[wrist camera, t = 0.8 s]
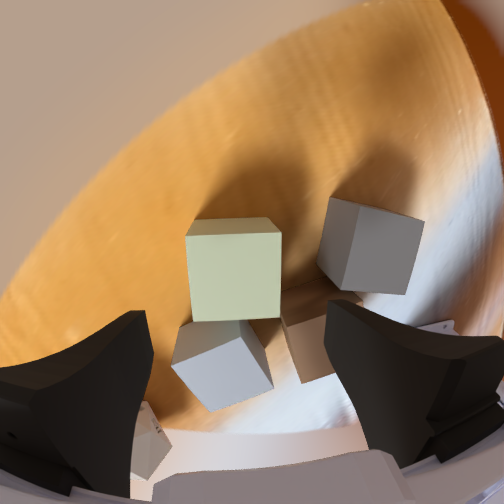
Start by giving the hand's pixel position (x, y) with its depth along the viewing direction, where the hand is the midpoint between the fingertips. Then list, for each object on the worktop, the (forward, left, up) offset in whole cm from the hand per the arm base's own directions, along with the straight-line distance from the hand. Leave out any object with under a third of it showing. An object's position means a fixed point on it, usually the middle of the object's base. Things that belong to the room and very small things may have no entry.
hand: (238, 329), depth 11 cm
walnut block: (-6, +5, -10) cm, 13 cm away
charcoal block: (-9, -1, -10) cm, 14 cm away
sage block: (0, 0, -10) cm, 10 cm away
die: (+11, +16, -10) cm, 22 cm away
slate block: (+1, +7, -10) cm, 12 cm away
